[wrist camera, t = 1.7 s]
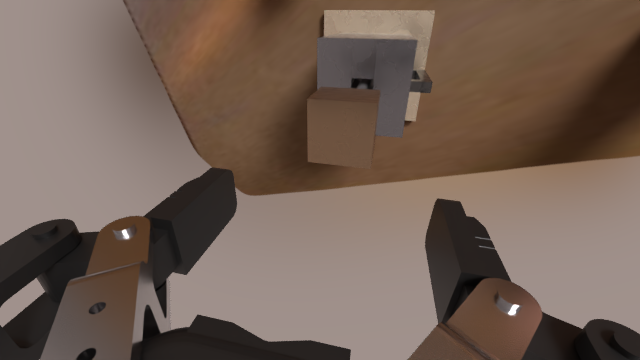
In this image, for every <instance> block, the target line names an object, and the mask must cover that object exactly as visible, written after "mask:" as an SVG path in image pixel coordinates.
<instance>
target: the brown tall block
mask: <svg viewBox="0 0 640 360" xmlns="http://www.w3.org/2000/svg"><path fill="white" fill-rule="evenodd" d="M373 85H374V79H362V78H353V80H352V88H337V87H320V88H319V89H318V90H317V91H315V92H314V93H313V94H312V95H311V96H310V97H309V98H307V138H308V162H313V163H322V164H331V165H340V166H349V167H358V168H367V169H371V164H372V158H373V152H374V145H375V136H376V127H377V118H378V109H379V100H380V91H381V90H373Z"/></svg>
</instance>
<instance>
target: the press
mask: <svg viewBox="0 0 640 360" xmlns="http://www.w3.org/2000/svg"><path fill="white" fill-rule="evenodd" d="M434 15H435V11H407V10H324V37H319V38H317V90H318V89H319V88H320V87H337V88H352V80H353V78H362V79H374V85H373V90H381V91H380V100H379V109H378V118H377V127H376V135H378V136H390V137H401V138H402V135H403V129H404V122H405V120H407V121H415V120H416V114H417V109H418V103H419V98H420V93H430V92H431V87H432V81H431V79H430V78H429V76H428V74H427V73H426V71H425V65H426V59H427V53H428V48H429V42H430V37H431V31H432V26H433V20H434Z"/></svg>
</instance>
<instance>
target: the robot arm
mask: <svg viewBox="0 0 640 360" xmlns="http://www.w3.org/2000/svg"><path fill="white" fill-rule="evenodd" d="M236 207H237V199H236V192H235V184H234V176H233V173H232V171H231V170H227V169H220V168H210V169H209V170H208V171H207V172H205V173H204V174H203V175H202V176H200V177H198V178H196V179H194V180H192V181H190V182H187V183H185V184H184V185H183V186H181V187H180V188H179V189H178V190H177V191H175V192H174V193H173V194H171V195H170V197H168V198H166V199H165V200H164V201H162V202H161V203H160V204H159V205H157V206H156V207H155V208H153V209H152V210H151V211H150V212H148V213H147V214H146V215H145V216H129V217H125V218H121V219H118V220H115V221H113V222H111V223H109V224H108V225H106V226H105V227H104V228H103V229H101V231H100V232H85V233H79V231H78V229H77V227H76V225H75V223H74V222H73V221H71V220H68V219H57V220H51V221H47V222H43V223H40V224H38V225H36V226H33V227H31V228H29V229H27V230H25V231H24V232H22V233H20V234H19V235H17V236H15V237H14V238H12V239H10V240H9V241H7V242H5V243H4V244H2V245H1V246H0V307H1V306H2V304H3V303H4V302H5V301H7V300H8V299H9V298H10V297H12V296H13V295H14V294H16V293H17V292H18V291H19V290H21V289H22V288H23V287H25V286H26V285H27V284H28V283H30V282H31V281H33V280H34V279H35V278H37V279H38V281H39V282H40V284H41V285H42V287H43V289H44V290H45V292H44V293H43V294H42V295H41V296H40V297H38V298H37V299H36V300H35V301H34V302H32V303H31V304H30V305H29V306H28V307H26V308H25V309H24V310H23V311H22V312H20V313H19V314H18V315H17V316H16V317H15V318H13V319H12V320H11V321H10V322H8V323H7V324H6V325H5V326H4V327H1V326H0V360H39V359H40V360H350V352H351V350H350V349H346V348H341V347H337V346H333V345H328V344H324V343H320V342H315V341H311V340H310V341H281V342H280V341H279V342H268V341H264V340H262V339H261V338H259V337H257V336H255V335H254V334H252V333H250V332H248V331H247V330H244V329H243V328H241V327H240V326H238V325H236V324H234V323H232V322H228V321H223V320H219V319H215V318H210V317H206V316H201V315H197V316H196V318H195V319H194V321H193V322H192V324H191V326H190V327H185V328H178V329H174V330H171V323H170V283H169V279H168V277H169V275H170V274H171V273H172V272H175V273H179V274H184V275H187V273H188V272H189V271H190V270H191V268H192V267H193V266H194V265H195V263H196V262H197V261H198V260H199V258H200V257H201V256H202V255H203V253H204V252H205V251H206V250H207V249H208V247H209V246H210V245H211V244H212V242H213V241H214V240H215V239H216V237H217V236H218V235H219V234H220V232H221V231H222V229H224V227H225V226H226V225H227V224H228V222H229V221H230V220H231V218H232V217H233V216H234V214H235V212H236ZM425 248H426V253H427V260H428V266H429V272H430V278H431V284H432V289H433V295H434V301H435V307H436V313H437V319H438V325H437V326H436V327H435V328H434V329H433V330H432V331H431V333H430V334H429V335H428V336H427V337H426V338H425V340H424V341H423V342H422V343H421V344H420V345H419V347H418V348H417V349H416V350H415V352H413V354H412V355H411V356H410V357H409V358H408V359H407V360H640V334H638V333H637V332H635V331H633V330H631V329H630V328H628V327H626V326H623V325H621V324H618V323H616V322H613V321H609V320H604V319H594V320H591V321H589V322H588V323H587V325H586V326H585V327H584V328H583V329H581V328H579V327H576V326H574V325H572V324H569V323H567V322H564V321H562V320H559V319H557V318H554V317H552V316H550V315H548V314H545V313H543V312H542V310H541V307H540V306H539V304H538V302H537V301H536V300H535V298H533V296H532V295H531V294H530V293H528V292H527V291H526V290H525V289H523V288H522V287H520V286H518V285H516V284H515V283H512V282H511V280H510V278H509V276H508V274H507V272H506V270H505V268H504V266H503V263H502V261H501V259H500V257H499V255H498V253H497V251H496V250H495V247H494V245H493V243H492V241H491V240H490V236H489V234H488V232H487V230H486V228H485V227H484V226H483V225H482V224H481V223H480V222H479V221H478V220H477V219H475V218H474V217H467V216H466V214H465V212H464V209H463V207H462V204H461V202H459V201H453V200H445V199H437V200H436V202H435V205H434V208H433V212H432V215H431V219H430V222H429V226H428V229H427V233H426V241H425Z"/></svg>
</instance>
